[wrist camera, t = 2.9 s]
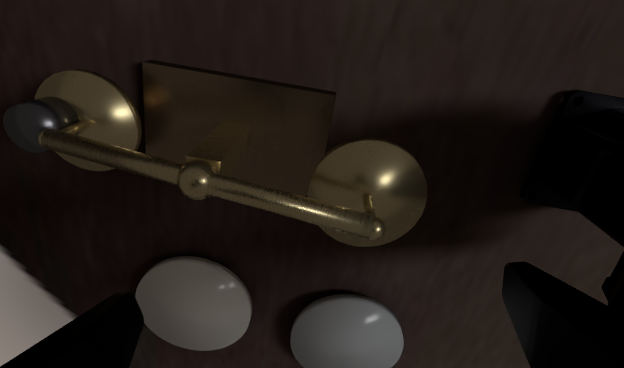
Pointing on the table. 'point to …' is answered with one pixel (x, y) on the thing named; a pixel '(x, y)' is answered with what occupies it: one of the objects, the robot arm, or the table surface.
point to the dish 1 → (194, 303)
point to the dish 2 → (346, 334)
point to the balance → (229, 146)
